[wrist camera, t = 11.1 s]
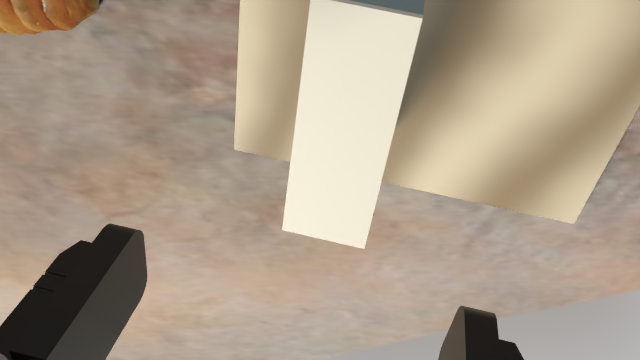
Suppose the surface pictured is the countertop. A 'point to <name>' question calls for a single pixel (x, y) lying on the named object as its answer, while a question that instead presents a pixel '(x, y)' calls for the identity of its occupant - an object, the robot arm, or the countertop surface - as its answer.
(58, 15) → the pastry
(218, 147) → the countertop surface
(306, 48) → the slab
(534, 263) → the countertop surface
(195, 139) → the countertop surface
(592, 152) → the board
